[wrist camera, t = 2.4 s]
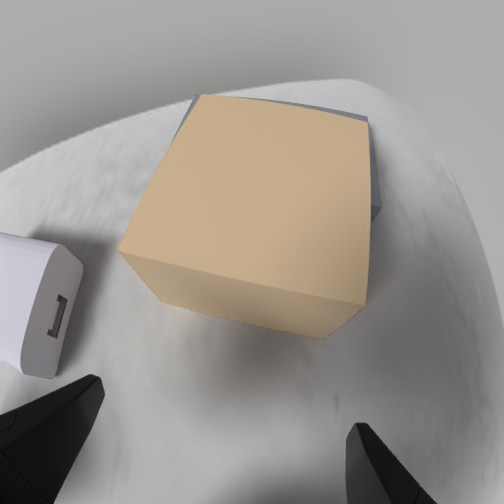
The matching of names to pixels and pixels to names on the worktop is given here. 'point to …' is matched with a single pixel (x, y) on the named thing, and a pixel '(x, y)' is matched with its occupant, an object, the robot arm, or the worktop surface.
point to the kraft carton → (259, 217)
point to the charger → (35, 302)
